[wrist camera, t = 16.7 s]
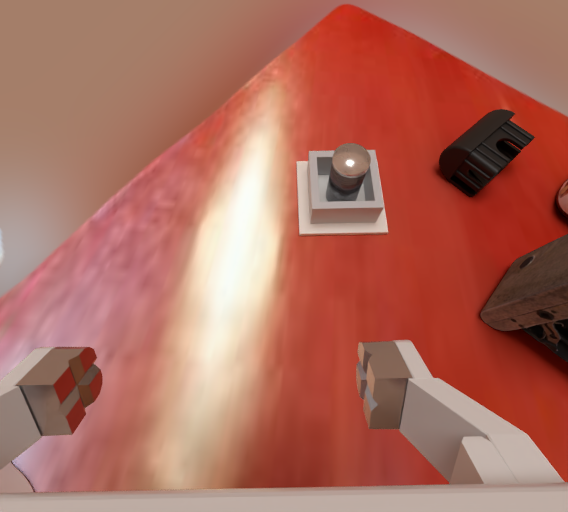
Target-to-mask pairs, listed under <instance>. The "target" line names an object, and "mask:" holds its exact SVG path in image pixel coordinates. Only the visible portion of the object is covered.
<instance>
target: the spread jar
mask: <svg viewBox="0 0 568 512" xmlns="http://www.w3.org/2000/svg"><path fill="white" fill-rule="evenodd" d="M556 204H557V207H558V208H559V210H560V211H561V213H562V214H563V215H564V216H565V217H567V218H568V180H567V181H566V182H565V183H564V184H563V185H562V186H561V188H560V189H559V191H558V193H557V196H556Z"/></svg>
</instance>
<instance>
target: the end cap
mask: <svg viewBox="0 0 568 512" xmlns="http://www.w3.org/2000/svg"><path fill="white" fill-rule="evenodd" d="M514 114H515V113H513V112H511V111H508V110H503V109H500V110H494V111H492V112H489V113H488V114H486V115H485V116H484V117H483V118H482V119H480V120H479V121H478V122H477V123H476V124H474V125H473V126H472V127H471V128H470V129H468V130H467V131H466V132H465V133H464V134H463V135H461V136H460V137H459V138H458V139H457V140H455V141H454V142H453V143H452V144H451V145H449V146H448V147H447V148H446V149H445V150H444V151H443V152H442V153H441V155H440V159H439V165H440V169H441V171H442V173H443V174H444V175H445V177H446V178H447V180H448V181H449V182H450V183H452V184H453V185H454V186H456V187H457V188H458V189H459V190H461V191H462V192H463V193H465V194H466V195H467V196H469V197H473V196H475V195H476V194H477V193H478V192H479V191H480V190H481V189H482V188H483V187H484V186H485V185H486V184H487V183H489V182H490V181H491V180H492V179H493V178H494V177H495V176H496V175H497V174H498V173H499V172H500V171H501V170H503V169H504V168H505V167H506V166H507V165H508V164H509V163H510V162H511V161H512V160H513V159H514V158H515V157H516V156H517V155H518V154H519V153H520V152H521V151H520V150H519V149H521V150H522V149H523V148H524V147H525V146H527V145H528V144H529V143H530V142H531V141H532V140H533V139H534V138H535V137H534V136H533V135H531V134H530V133H528V132H527V131H525V130H524V129H522V128H521V127H519V126H518V125H516V124H515V123H513V122H512V121H510V119H511V118H512V117H513V115H514ZM507 141H508V142H507ZM509 142H510V143H512V144H513V145H515V146H516V147H518V148H519V149H518V148H516V147H515V146H513V145H512V144H510V143H509Z"/></svg>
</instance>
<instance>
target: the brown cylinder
mask: <svg viewBox="0 0 568 512" xmlns="http://www.w3.org/2000/svg"><path fill="white" fill-rule="evenodd" d="M370 162H371V157H370V154H369V152H368V151H367V150H366V149H365V148H364V147H362V146H360V145H358V144H354V143H347V144H343V145H341V146H339V147H338V148H337V149H336V150H335V151H334V154H333V158H332V165H331V170H330V175H329V180H328V185H327V190H326V199H327V201H328V202H334V201H356V199H357V196H358V194H359V191H360V188H361V186H362V183H363V180H364V178H365V175H366V172H367V170H368V168H369V165H370Z"/></svg>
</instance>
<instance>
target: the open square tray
mask: <svg viewBox="0 0 568 512" xmlns="http://www.w3.org/2000/svg"><path fill="white" fill-rule="evenodd" d="M367 151H368V152H369V154H370V157H371V162H370V165H369V168H368V170H367V172H366V175H365V178H364V180H363V183H362V186H361V188H360V191H359V194H358V196H357V199H356V201H334V202H328V201H327V199H326V190H327V185H328V180H329V175H330V170H331V165H332V158H333V154H334V151H309V155H308V161H297V189H298V214H299V236H313V235H365V234H387V233H388V227H387V221H386V215H385V208H384V202H383V195H382V189H381V183H380V176H379V170H378V163H377V160H376V153H375V150H367Z"/></svg>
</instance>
